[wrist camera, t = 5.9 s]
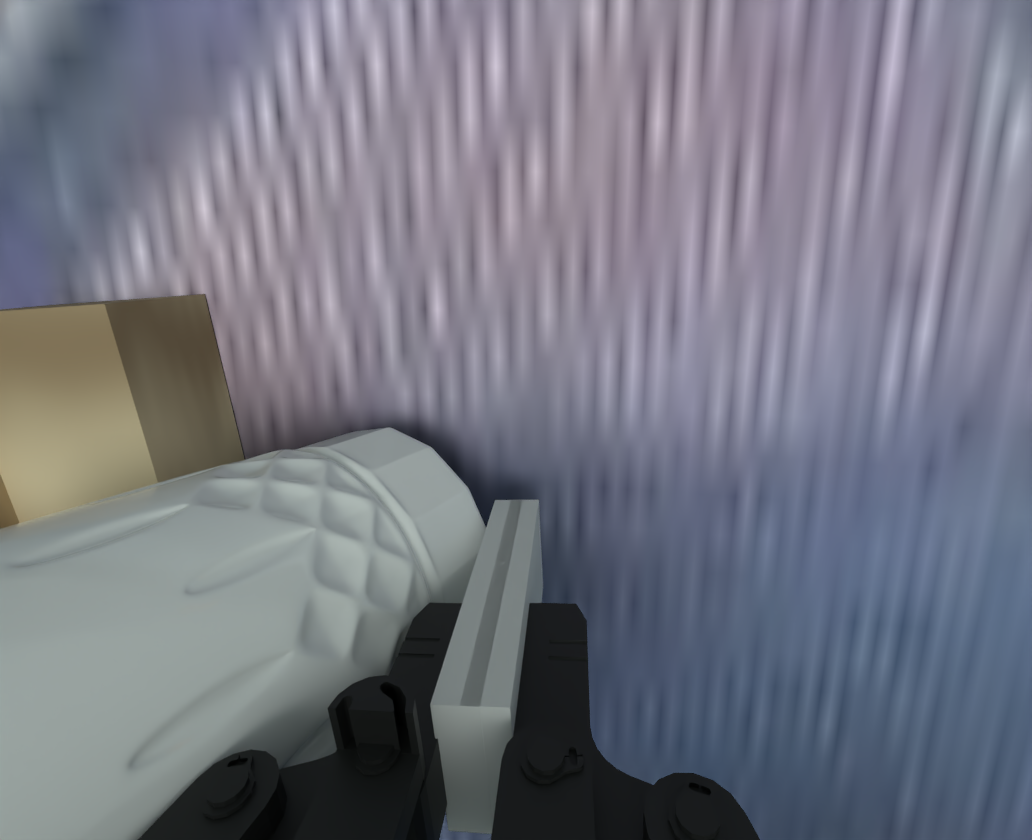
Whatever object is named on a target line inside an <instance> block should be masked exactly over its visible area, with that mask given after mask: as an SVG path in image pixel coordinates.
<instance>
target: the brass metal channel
mask: <svg viewBox="0 0 1032 840" xmlns="http://www.w3.org/2000/svg"><path fill="white" fill-rule="evenodd" d="M242 460H245V459H244V455H243V451H242V447H241V442H240V438H239V434H238V430H237V426H236V422H235V418H234V414H233V409H232V405H231V401H230V397H229V393H228V389H227V385H226V380H225V376H224V372H223V368H222V364H221V360H220V356H219V352H218V347H217V343H216V339H215V335H214V331H213V327H212V323H211V318H210V314H209V310H208V306H207V302H206V298H205V294H201V295H187V296H173V297H159V298H145V299H131V300H117V301H102V302H88V303H74V304H60V305H47V306H36V307H24V308H13V309H2V310H0V528H4V527H7V526H10V525H14V524H17V523H21V522H24V521H28V520H31V519H35V518H38V517H42V516H45V515H48V514H52V513H55V512H59V511H62V510H66V509H69V508H73V507H76V506H79V505H83V504H86V503H90V502H93V501H96V500H100V499H103V498H107V497H110V496H114V495H117V494H121V493H124V492H127V491H131V490H134V489H138V488H141V487H145V486H148V485H152V484H155V483H158V482H162V481H165V480H169V479H172V478H176V477H179V476H183V475H187V474H190V473H194V472H197V471H201V470H205V469H209V468H213V467H217V466H220V465H225V464H229V463H233V462H238V461H242Z"/></svg>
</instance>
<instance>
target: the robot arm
mask: <svg viewBox="0 0 1032 840" xmlns="http://www.w3.org/2000/svg"><path fill="white" fill-rule="evenodd" d="M542 593H543V572H542V553H541V534H540V514H539V500H495V502H494V505H493V508H492V511H491V514H490V517H489V521H488V524H487V527H486V530H485V533H484V536H483V540H482V543H481V546H480V549H479V552H478V555H477V558H476V562H475V565H474V568H473V571H472V574H471V577H470V581H469V584H468V587H467V590H466V593H465V596H464V599H463V603H429V604H427V605H426V606H425V607H424V608H423V609H422V610H421V611H420V612H419V613H418V614H417V615H416V616H415V617H414V618H413V620H412V623H411V625H410V627H409V629H408V632H407V634H406V636H405V641H403V643H402V646H401V648H400V650H399V652H398V657H396V659H395V662H394V664H393V666H392V668H391V671H390V673H389V675H388V676H387V675H382V676H373V677H368V678H365V679H363V680H360V681H358V682H355V683H353V684H351V685H350V686H349V687H347V688H346V689H345V690H343V691H342V692H341V693H339V694H338V695H337V696H336V698H335V699H334V700H333V702H332V703H331V704H330V705H329V707H328V713H329V717H330V721H331V726H332V730H333V735H334V739H335V743H336V748H337V750H336V752H335V753H333V754H331V755H328V756H326V757H323V758H320V759H317V760H313V761H309V762H305V763H301V764H297V765H294V766H290V767H286V768H282V769H279V767H278V764H277V760H276V758H274V757H273V756H272V755H270V754H269V753H268V752H266V751H260V750H252V749H251V750H247V751H243V752H238V753H234V754H232V755H230V756H228V757H226V758H224V759H222V760H220V761H219V762H217V763H215V764H214V765H212V766H211V767H210V768H209V769H208V770H206V771H205V772H204V773H203V774H202V775H200V776H199V777H198V778H197V779H196V780H195V781H194V782H193V783H192V784H191V785H190V786H189V787H188V788H187V789H186V790H185V791H184V792H183V793H182V794H181V795H180V797H179V798H178V799H177V800H176V801H175V802H174V803H173V804H172V805H171V806H170V807H169V808H168V809H167V810H166V811H165V812H164V813H163V814H162V815H161V816H160V817H159V818H158V819H157V820H156V821H155V822H154V823H153V824H152V826H151V827H150V828H149V829H148V830H147V831H146V832H145V833H144V834H143V835H142V836H141V837H140V838H139V839H138V840H439V838H440V833H441V829H442V825H443V820H444V816H445V812H446V816H447V823H448V830H449V831H460V832H472V833H485V834H492V836H491V840H760V839H759V837H758V835H757V834H756V832H755V830H754V828H753V826H752V824H751V823H750V821H749V819H748V817H747V815H746V813H745V812H744V811H743V809H742V808H741V807H740V805H739V804H738V803H737V801H736V800H735V799H734V797H733V796H732V795H731V793H729V792H728V791H726V790H725V789H724V788H722V787H721V786H720V785H718V784H717V783H716V782H714V781H713V780H711V779H708V778H705V777H703V776H700V775H697V774H694V773H673V774H671V775H668V776H666V777H664V778H661V779H659V780H658V781H657V782H656V783H655V785H652V784H649V783H647V782H644V781H642V780H639V779H637V778H634V777H631V776H629V775H627V774H625V773H624V772H622V771H620V770H618V769H616V768H615V767H614V766H613V765H611V764H610V763H609V762H608V761H607V760H606V759H605V758H604V757H603V756H602V754H601V753H600V752H599V750H598V749H597V747H596V745H595V743H594V741H593V738H592V734H591V728H590V709H589V680H588V651H587V622H586V619H585V618H584V616H583V614H582V613H581V611H580V609H579V608H578V606H577V605H576V604H560V603H542Z"/></svg>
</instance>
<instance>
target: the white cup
mask: <svg viewBox="0 0 1032 840" xmlns="http://www.w3.org/2000/svg"><path fill="white" fill-rule="evenodd" d="M485 530H486V526H485V524H484V522H483V519H482V517H481V515H480V513H479V510H478V508H477V506H476V504H475V501H474V499H473V497H472V495H471V492H470V490H469V488H468V487H467V486H466V485H465V483H464V482H463V481H462V480H461V479H460V478H459V477H458V476H457V474H456V473H455V472H454V471H453V470H452V469H451V468H450V467H449V466H448V465H447V463H446V462H445V461H444V460H443V459H442V458H441V457H440V456H439V455H438V454H437V452H436V451H435V450H434V449H433V448H432V447H430V446H428V445H426V444H424V443H422V442H420V441H418V440H416V439H414V438H412V437H410V436H408V435H406V434H404V433H402V432H399V431H397V430H395V429H393V428H390V427H387V428H379V429H371V430H362V431H354V432H351V433H347V434H344V435H340V436H337V437H334V438H331V439H328V440H324V441H321V442H318V443H315V444H311V445H308V446H305V447H302V448H298V449H295V450H290V449H282V450H278V451H273V452H269V453H266V454H262V455H259V456H255V457H252V458H249V459H246V460H242V461H238V462H233V463H229V464H225V465H220V466H217V467H213V468H209V469H205V470H201V471H197V472H194V473H190V474H187V475H183V476H179V477H176V478H172V479H169V480H165V481H162V482H158V483H155V484H152V485H148V486H145V487H141V488H138V489H134V490H131V491H127V492H124V493H121V494H117V495H114V496H110V497H107V498H103V499H100V500H96V501H93V502H90V503H86V504H83V505H79V506H76V507H73V508H69V509H66V510H62V511H59V512H55V513H52V514H48V515H45V516H42V517H38V518H35V519H31V520H28V521H24V522H21V523H17V524H14V525H10V526H7V527H4V528H0V840H138V839H139V838H140V837H141V836H142V835H143V834H144V833H145V832H146V831H147V830H148V829H149V828H150V827H151V826H152V824H153V823H154V822H155V821H156V820H157V819H158V818H159V817H160V816H161V815H162V814H163V813H164V812H165V811H166V810H167V809H168V808H169V807H170V806H171V805H172V804H173V803H174V802H175V801H176V800H177V799H178V798H179V797H180V795H181V794H182V793H183V792H184V791H185V790H186V789H187V788H188V787H189V786H190V785H191V784H192V783H193V782H194V781H195V780H196V779H197V778H198V777H199V776H200V775H202V774H203V773H204V772H205V771H206V770H208V769H209V768H210V767H211V766H212V765H214V764H215V763H217V762H219V761H220V760H222V759H224V758H226V757H228V756H230V755H232V754H234V753H238V752H243V751H247V750H251V749H252V750H260V751H266V752H268V753H269V754H270V755H272V756H273V757H274V758H276V760H277V764H278V767H279V769H282V768H286V767H290V766H294V765H297V764H301V763H305V762H309V761H313V760H317V759H320V758H323V757H326V756H328V755H331V754H333V753H335V752H336V750H337V748H336V743H335V739H334V735H333V730H332V726H331V721H330V717H329V713H328V707H329V705H330V704H331V703H332V702H333V700H334V699H335V698H336V696H337V695H338V694H339V693H341V692H342V691H343V690H345V689H346V688H347V687H349V686H350V685H351V684H353V683H355V682H358V681H360V680H363V679H365V678H368V677H373V676H382V675H387V676H388V675H389V673H390V671H391V668H392V666H393V664H394V662H395V659H396V657H398V652H399V650H400V648H401V646H402V643H403V641H405V636H406V634H407V632H408V629H409V627H410V625H411V623H412V620H413V618H414V617H415V616H416V615H417V614H418V613H419V612H420V611H421V610H422V609H423V608H424V607H425V606H426V605H427V604H429V603H463V599H464V596H465V593H466V590H467V587H468V584H469V581H470V577H471V574H472V571H473V568H474V565H475V562H476V558H477V555H478V552H479V549H480V546H481V543H482V540H483V536H484V533H485Z"/></svg>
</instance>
